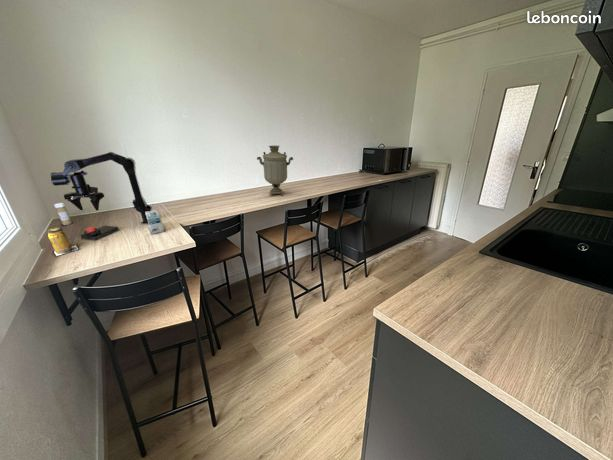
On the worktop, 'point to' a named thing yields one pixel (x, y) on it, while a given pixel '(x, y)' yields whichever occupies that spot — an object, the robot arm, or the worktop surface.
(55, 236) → the condiment
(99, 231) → the black control pad
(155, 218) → the light bulb box
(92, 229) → the button
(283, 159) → the samovar
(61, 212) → the sprinkles bottle
